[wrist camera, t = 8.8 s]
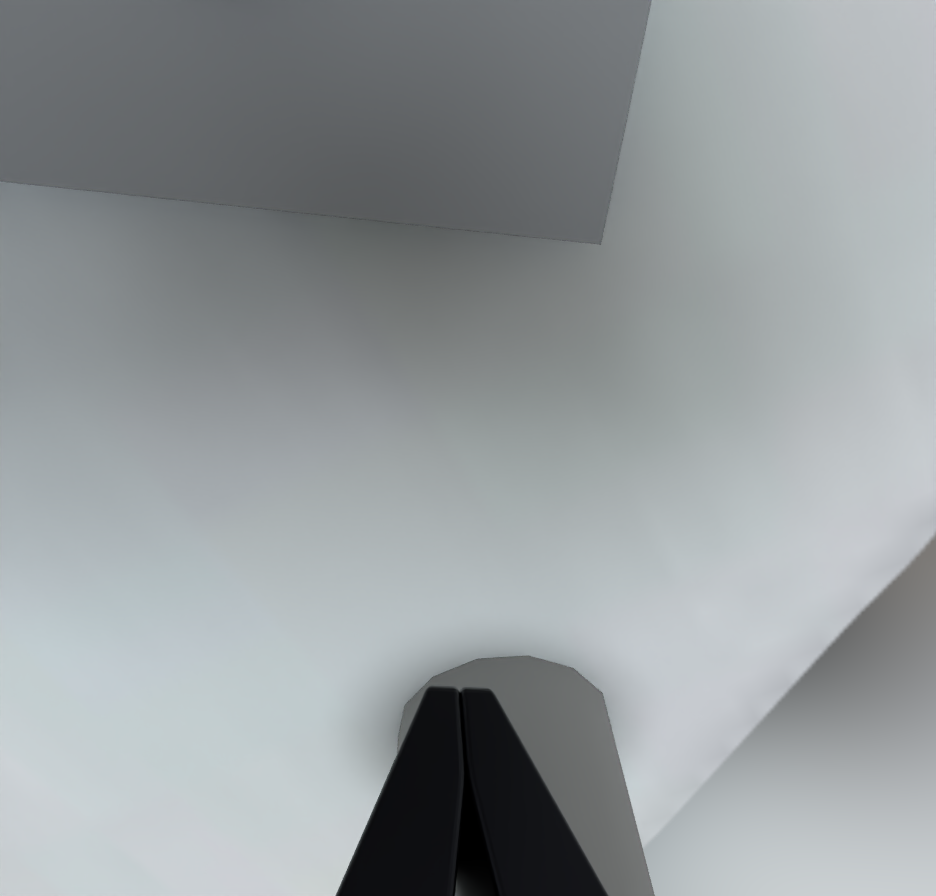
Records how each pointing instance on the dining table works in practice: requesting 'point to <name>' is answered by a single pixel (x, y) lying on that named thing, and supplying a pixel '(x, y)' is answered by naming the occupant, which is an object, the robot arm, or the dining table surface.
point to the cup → (565, 756)
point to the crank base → (329, 106)
